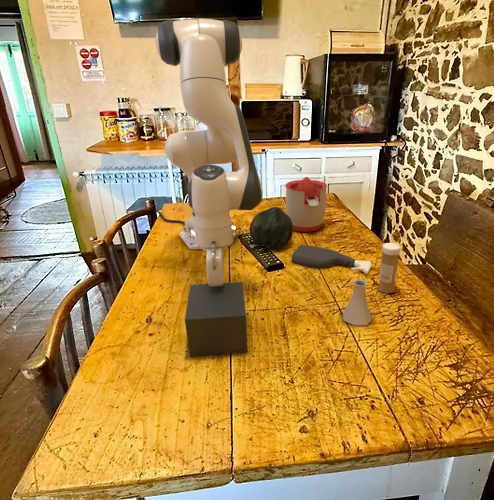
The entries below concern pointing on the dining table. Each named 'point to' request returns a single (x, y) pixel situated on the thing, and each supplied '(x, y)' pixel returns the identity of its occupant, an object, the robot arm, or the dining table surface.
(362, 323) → the flask
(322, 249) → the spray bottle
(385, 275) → the sprinkles bottle
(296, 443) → the dining table surface
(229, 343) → the dark grey box
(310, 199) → the citrus juicer
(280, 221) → the squash
